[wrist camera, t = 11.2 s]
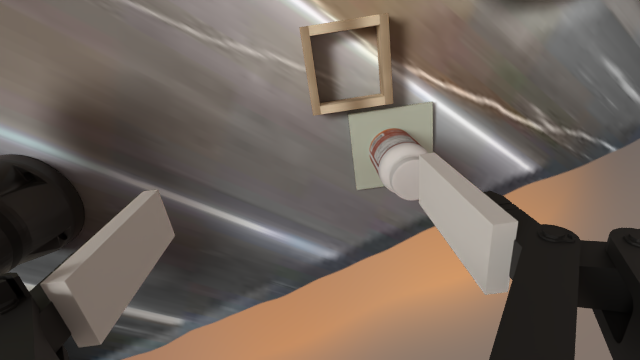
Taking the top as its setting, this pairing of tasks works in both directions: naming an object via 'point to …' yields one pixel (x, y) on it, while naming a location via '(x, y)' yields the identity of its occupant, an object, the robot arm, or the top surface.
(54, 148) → the top surface
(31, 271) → the top surface
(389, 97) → the pocket frame
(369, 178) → the coaster
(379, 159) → the pill bottle
